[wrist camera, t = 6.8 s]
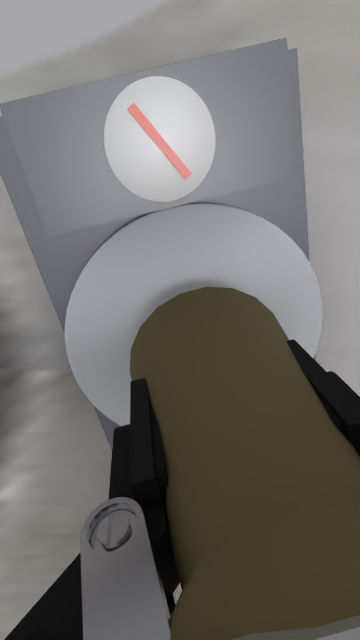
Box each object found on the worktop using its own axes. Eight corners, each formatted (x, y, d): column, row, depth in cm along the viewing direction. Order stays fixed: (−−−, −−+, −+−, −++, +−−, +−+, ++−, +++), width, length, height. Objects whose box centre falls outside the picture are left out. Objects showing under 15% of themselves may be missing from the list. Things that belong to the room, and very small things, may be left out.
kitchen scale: (297, 371, 20) (349, 435, 15) (114, 419, 20) (108, 499, 15) (270, 67, 14) (345, 12, 9) (4, 129, 14) (-67, 106, 9)
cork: (196, 449, 15) (333, 1039, 5) (94, 359, 12) (-66, 1140, 2) (312, 363, 14) (801, 878, 4) (225, 250, 11) (879, 789, 1)
